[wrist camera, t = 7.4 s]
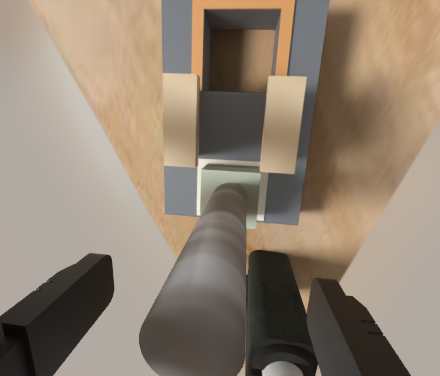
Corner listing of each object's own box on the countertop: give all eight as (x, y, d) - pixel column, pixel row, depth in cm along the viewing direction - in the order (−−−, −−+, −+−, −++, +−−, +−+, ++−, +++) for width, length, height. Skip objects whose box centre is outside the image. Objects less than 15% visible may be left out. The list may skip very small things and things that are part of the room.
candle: (284, 289, 30) (432, 928, 6) (245, 283, 31) (237, 857, 6) (290, 254, 29) (512, 892, 5) (249, 248, 29) (262, 805, 5)
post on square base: (207, 163, 23) (98, 258, 6) (258, 166, 22) (294, 280, 6) (206, 210, 24) (112, 400, 7) (254, 214, 24) (273, 427, 7)
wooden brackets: (189, 90, 22) (162, 73, 15) (287, 93, 21) (306, 76, 14) (188, 155, 23) (164, 165, 16) (280, 160, 22) (294, 174, 15)
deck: (175, 17, 24) (160, -5, 20) (315, 17, 22) (331, -7, 18) (175, 202, 29) (164, 214, 25) (290, 211, 27) (298, 226, 23)
